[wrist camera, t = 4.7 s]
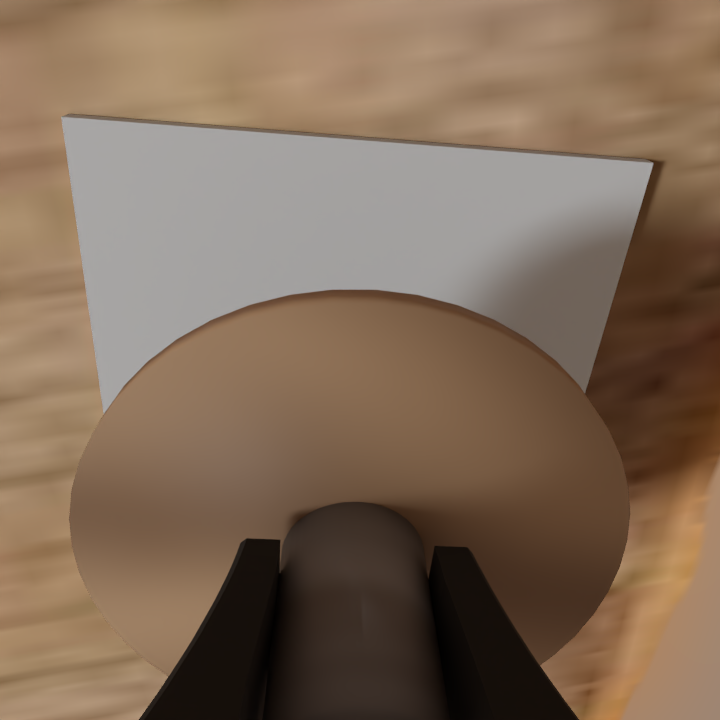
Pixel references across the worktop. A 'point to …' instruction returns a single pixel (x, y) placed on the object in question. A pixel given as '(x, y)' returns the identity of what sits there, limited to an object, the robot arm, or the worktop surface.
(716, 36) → the worktop surface
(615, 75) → the worktop surface
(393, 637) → the walnut lid
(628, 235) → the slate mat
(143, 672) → the worktop surface
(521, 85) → the worktop surface
